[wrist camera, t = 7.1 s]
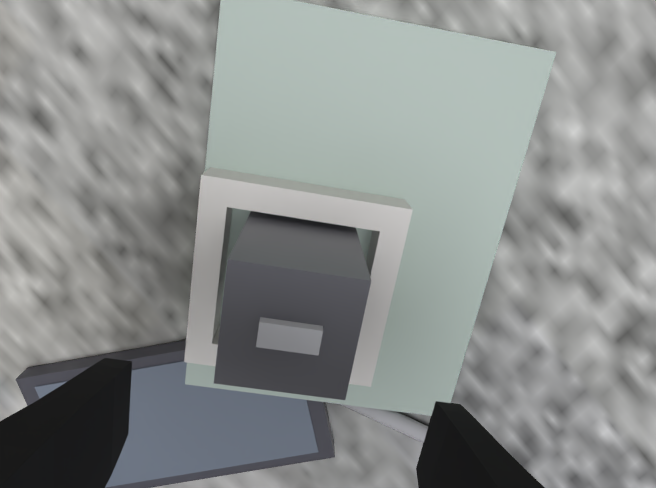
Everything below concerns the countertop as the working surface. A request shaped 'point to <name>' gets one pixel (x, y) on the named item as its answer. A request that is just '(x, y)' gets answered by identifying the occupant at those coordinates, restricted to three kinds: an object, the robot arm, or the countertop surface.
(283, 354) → the charger block
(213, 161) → the outlet plate
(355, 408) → the rod
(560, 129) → the countertop surface
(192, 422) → the phone
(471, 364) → the countertop surface
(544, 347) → the countertop surface
